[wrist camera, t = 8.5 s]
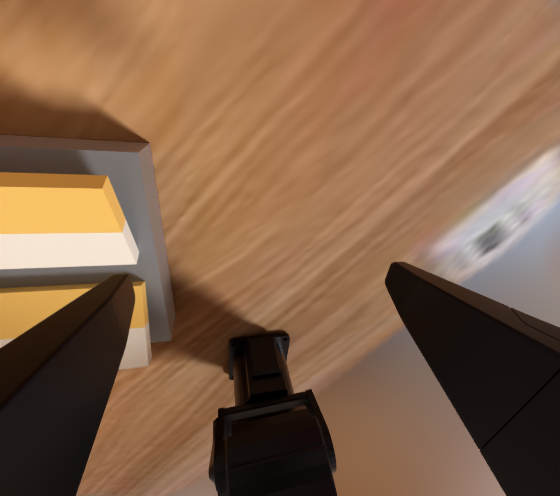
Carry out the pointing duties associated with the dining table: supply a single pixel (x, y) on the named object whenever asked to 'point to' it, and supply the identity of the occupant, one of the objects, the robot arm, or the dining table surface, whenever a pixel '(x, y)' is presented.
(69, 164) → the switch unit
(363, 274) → the dining table surface
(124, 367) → the switch
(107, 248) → the switch
